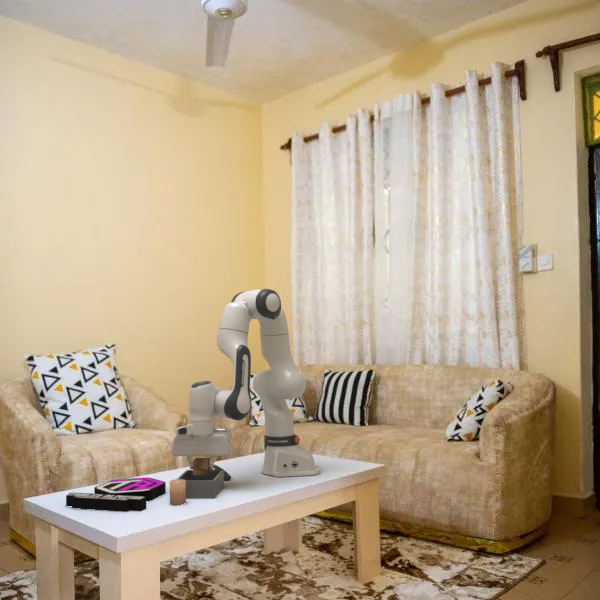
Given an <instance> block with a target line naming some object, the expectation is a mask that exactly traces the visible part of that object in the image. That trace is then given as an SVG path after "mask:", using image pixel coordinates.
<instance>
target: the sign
mask: <svg viewBox="0 0 600 600" xmlns="http://www.w3.org/2000/svg"><path fill="white" fill-rule="evenodd" d="M166 487H167V486H166V481H164V480H160V479H156V478H152V477H136V478H135V477H133V478H119V479H113V480H109V481H107V482H103V483H102V484H99V485H97V486H95V487H94V488H93V490H94V493H90V492H69V493H68V494H66V496H65V501H66V502H65V506H72V507H71V508H72V509H73V508H81V509H80V510H87V509H95V510H94V511H103V510H108V512H119V511H120V512H121V511H122V513H128V512H142V511H145V510H146V509H147V502H146V501H148V502H150V500H151V501H153V499H154V500H155V498H156V499H157V497H158V498H159V496H160V497H162V496H163V495H166V491H167V490H166Z"/></svg>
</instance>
